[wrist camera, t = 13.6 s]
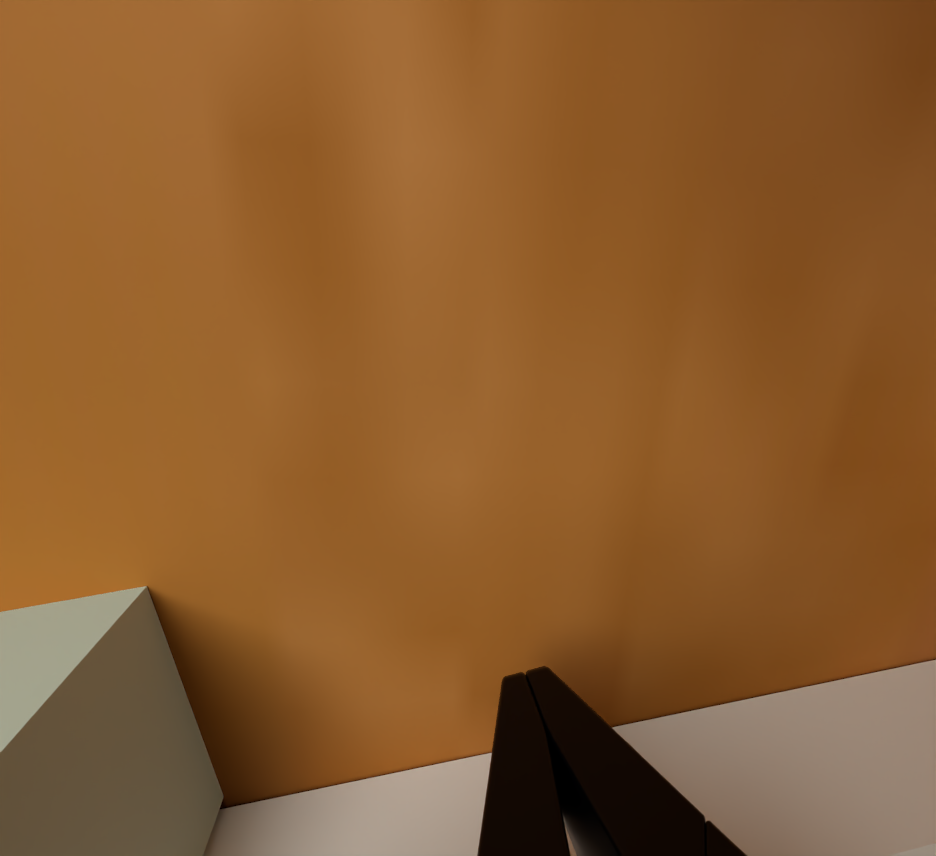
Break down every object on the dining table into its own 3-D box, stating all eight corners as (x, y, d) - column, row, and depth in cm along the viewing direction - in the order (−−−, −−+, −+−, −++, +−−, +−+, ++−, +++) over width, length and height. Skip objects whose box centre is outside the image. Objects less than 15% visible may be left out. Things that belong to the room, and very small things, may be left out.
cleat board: (-597, 631, 7) (-1448, 918, 4) (1074, 396, 11) (1379, 440, 7) (-281, 987, 10) (-634, 1346, 6) (986, 703, 13) (1184, 839, 10)
